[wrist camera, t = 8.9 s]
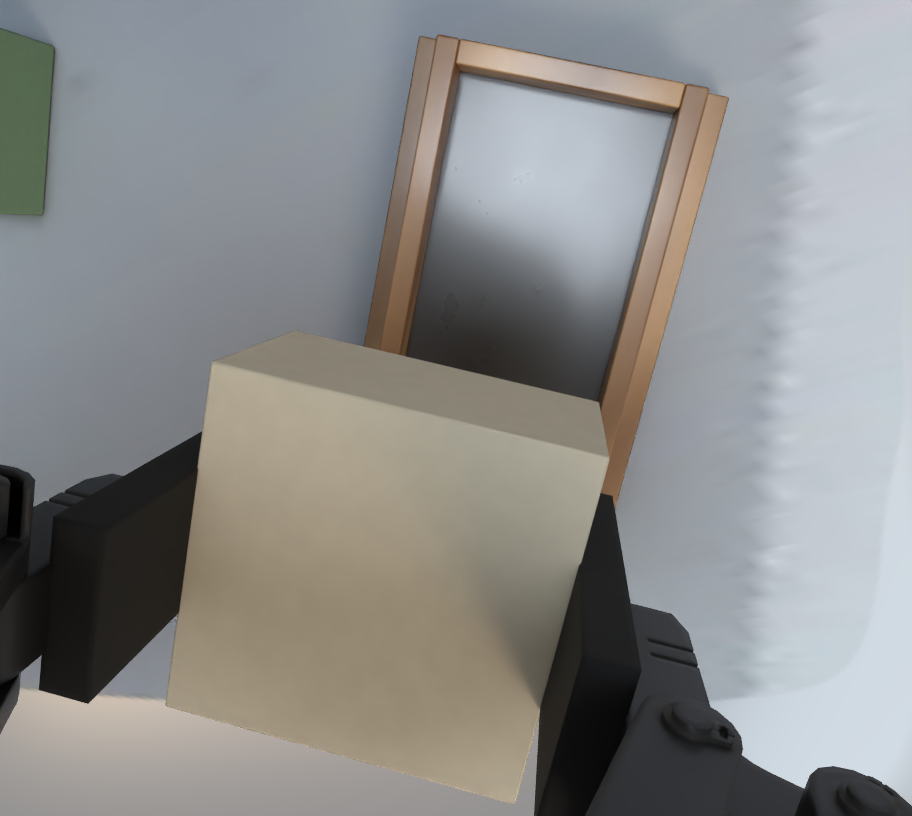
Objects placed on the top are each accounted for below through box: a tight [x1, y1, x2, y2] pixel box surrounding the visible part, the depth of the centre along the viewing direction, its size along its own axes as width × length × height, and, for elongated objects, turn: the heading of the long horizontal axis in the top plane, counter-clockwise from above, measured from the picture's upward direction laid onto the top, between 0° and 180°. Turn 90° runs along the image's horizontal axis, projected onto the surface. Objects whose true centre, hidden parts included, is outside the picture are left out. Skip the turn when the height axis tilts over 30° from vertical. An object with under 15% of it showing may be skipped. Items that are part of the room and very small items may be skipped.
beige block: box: [166, 331, 609, 804], centre depth 15 cm, size 6×6×4 cm
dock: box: [364, 35, 729, 508], centre depth 29 cm, size 11×16×2 cm
